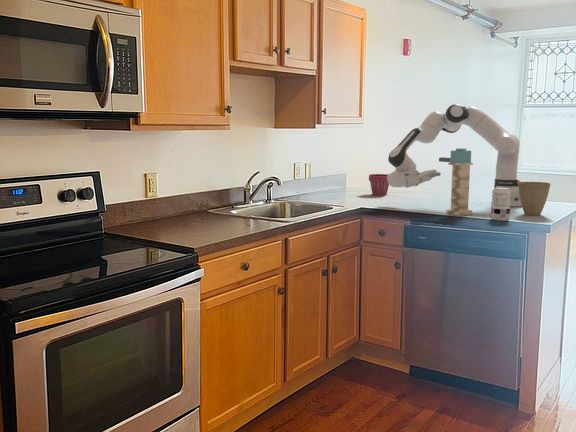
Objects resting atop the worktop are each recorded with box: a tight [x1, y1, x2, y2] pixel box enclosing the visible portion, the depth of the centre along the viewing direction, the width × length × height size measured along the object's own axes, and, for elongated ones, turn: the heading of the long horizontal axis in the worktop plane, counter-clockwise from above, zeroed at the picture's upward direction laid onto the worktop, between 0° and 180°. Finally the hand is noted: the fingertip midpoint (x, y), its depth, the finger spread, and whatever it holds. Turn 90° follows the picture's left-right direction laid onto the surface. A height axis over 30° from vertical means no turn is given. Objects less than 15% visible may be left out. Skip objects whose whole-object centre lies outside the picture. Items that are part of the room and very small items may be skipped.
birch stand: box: [445, 162, 474, 217], centre depth 293 cm, size 9×9×26 cm
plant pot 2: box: [518, 181, 551, 216], centre depth 292 cm, size 15×15×16 cm
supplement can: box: [490, 187, 511, 221], centre depth 278 cm, size 8×8×15 cm
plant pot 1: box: [368, 173, 390, 197], centre depth 372 cm, size 14×14×13 cm
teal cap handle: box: [438, 147, 472, 163], centre depth 295 cm, size 16×7×7 cm, turn 35°
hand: (435, 176), depth 307 cm, fingers open, 8 cm apart
